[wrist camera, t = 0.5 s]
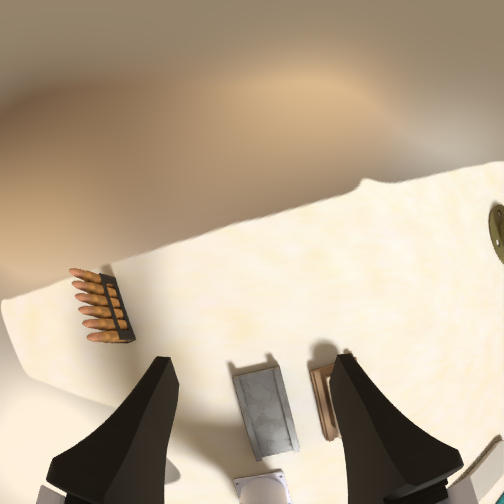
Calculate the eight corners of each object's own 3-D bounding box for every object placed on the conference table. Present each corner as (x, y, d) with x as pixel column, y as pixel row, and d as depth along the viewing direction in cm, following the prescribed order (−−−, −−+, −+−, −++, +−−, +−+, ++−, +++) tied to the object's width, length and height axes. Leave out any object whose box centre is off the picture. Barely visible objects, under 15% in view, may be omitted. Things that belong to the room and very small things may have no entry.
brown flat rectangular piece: (366, 423, 34) (370, 426, 32) (324, 438, 34) (327, 442, 32) (353, 356, 37) (357, 357, 35) (309, 370, 37) (311, 372, 35)
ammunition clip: (106, 281, 41) (63, 266, 29) (115, 277, 41) (73, 260, 29) (126, 343, 38) (84, 347, 26) (136, 339, 38) (95, 342, 27)
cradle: (299, 445, 33) (301, 451, 31) (255, 455, 33) (255, 461, 31) (279, 365, 37) (280, 368, 35) (233, 376, 37) (231, 379, 35)
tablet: (416, 516, 26) (420, 520, 24) (498, 434, 30) (504, 435, 27) (433, 534, 23) (436, 538, 20) (505, 462, 26) (510, 464, 24)
